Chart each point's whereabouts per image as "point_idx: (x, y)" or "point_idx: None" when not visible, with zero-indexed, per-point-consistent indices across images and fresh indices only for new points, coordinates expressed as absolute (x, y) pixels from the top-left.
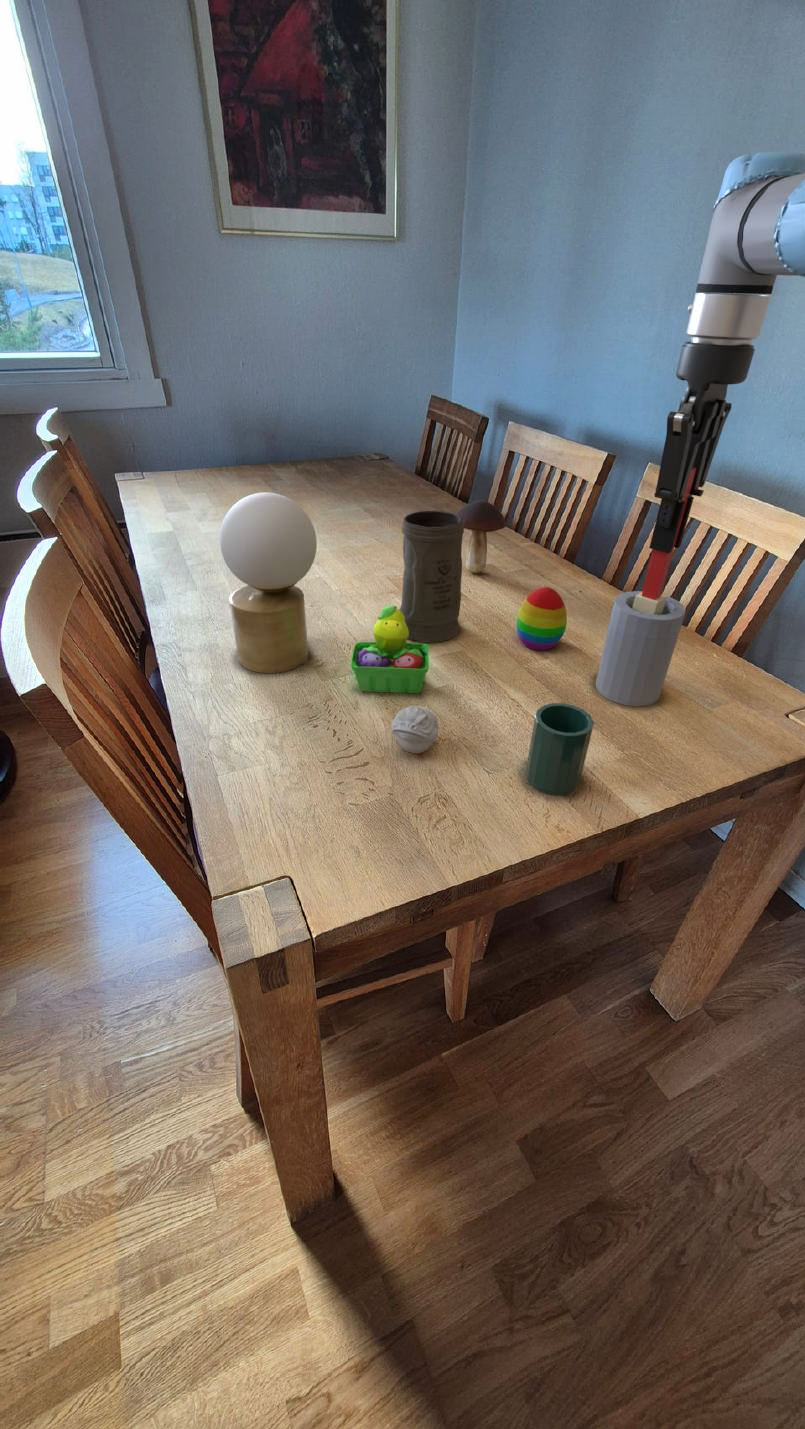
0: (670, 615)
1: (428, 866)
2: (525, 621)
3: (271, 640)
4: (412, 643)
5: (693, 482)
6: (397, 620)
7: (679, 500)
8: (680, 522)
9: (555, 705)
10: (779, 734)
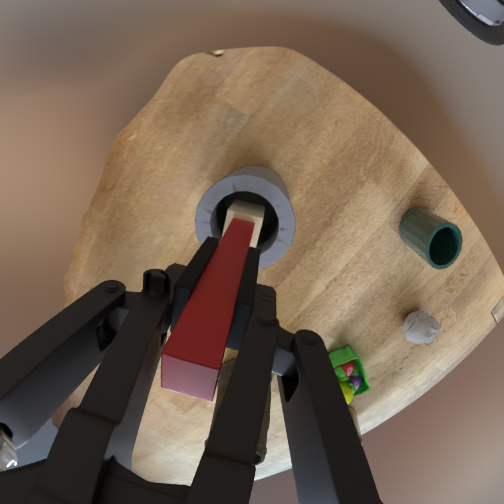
0: (266, 192)
1: (486, 265)
2: None
3: (357, 426)
4: None
5: (162, 318)
6: None
7: (273, 318)
8: (212, 269)
9: (430, 258)
10: (259, 56)
